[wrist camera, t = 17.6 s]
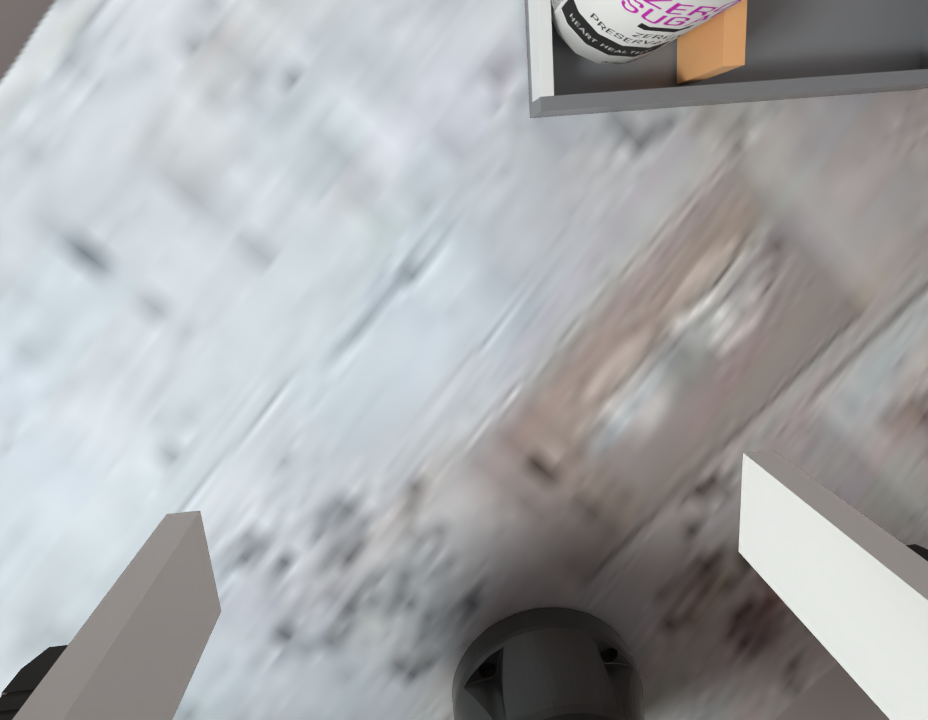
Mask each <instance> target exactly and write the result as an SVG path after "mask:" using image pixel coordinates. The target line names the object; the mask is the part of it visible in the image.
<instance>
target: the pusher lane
mask: <svg viewBox="0 0 928 720" xmlns="http://www.w3.org/2000/svg"><path fill="white" fill-rule="evenodd" d="M525 14H526V36H527V58H528V80H529V103H530V118H536V117H550V116H563V115H577V114H590V113H604V112H617V111H631V110H644V109H658V108H672V107H685V106H699V105H712V104H726V103H739V102H753V101H766V100H780V99H793V98H807V97H820V96H834V95H848V94H861V93H875V92H888V91H902V90H915V89H923V88H928V0H747V20H746V45H745V65H743V66H740V67H738V68H735V69H732V70H730V71H727V72H724V73H721V74H719V75H716V76H713V77H711V78H708V79H705V80H703V81H700V82H697V83H690V84H677V39H675V40H673V41H671V42H670V43H668V44H666V45H665V46H663V47H661V48H659V49H658V50H656V51H654V52H652V53H651V54H649V55H647V56H645V57H644V58H641V59H638V60H635V61H632V62H629V63H625V64H622V65H611V64H597V63H595V62H593V61H591V60H589V59H587V58H585V57H583V56H581V55H578V54H576V53H575V52H574V51H573V50H572V49H571V48H570V47H569V46H568V44H567V43H566V42H565V41H564V40H563V39H562V38H561V37H560V36H559V35H558V33H557V30H556V28H555V26H554V23H553V21H552V18H551V0H525Z"/></svg>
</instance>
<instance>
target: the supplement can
mask: <svg viewBox="0 0 928 720" xmlns="http://www.w3.org/2000/svg"><path fill="white" fill-rule="evenodd" d="M741 1H742V0H551V18H552V21H553V23H554V26H555V28H556V30H557V33H558V35H559V36H560V37H561V38H562V39H563V40H564V41H565V42H566V43H567V44H568V46H569V47H570V48H571V49H572V50H573V51H574V52H575V53H576V54H578V55H581V56H583V57H585V58H587V59H589V60H591V61H593V62H595V63H597V64H611V65H622V64H625V63H629V62H632V61H635V60H638V59H641V58H644V57H645V56H647V55H649V54H651V53H652V52H654V51H656V50H658V49H659V48H661V47H663V46H665V45H666V44H668V43H670V42H671V41H673V40H675V39H677V38H678V37H680V36H682V35H684V34H685V33H687V32H689V31H691V30H692V29H694V28H696V27H697V26H699V25H701V24H703V23H704V22H706V21H708V20H710V19H711V18H713V17H715V16H716V15H718V14H720V13H722V12H723V11H725V10H727V9H729V8H730V7H732V6H734V5H736V4H737V3H739V2H741Z"/></svg>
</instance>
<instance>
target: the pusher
mask: <svg viewBox="0 0 928 720" xmlns="http://www.w3.org/2000/svg"><path fill="white" fill-rule="evenodd" d="M746 20H747V0H742V1H741V2H739V3H737V4H736V5H734V6H732V7H730V8H729V9H727V10H725V11H723V12H722V13H720V14H718V15H716V16H715V17H713V18H711V19H710V20H708V21H706V22H704V23H703V24H701V25H699V26H697V27H696V28H694V29H692V30H691V31H689V32H687V33H685V34H684V35H682V36H680V37H678V38H677V84H690V83H697V82H700V81H703V80H705V79H708V78H711V77H713V76H716V75H719V74H721V73H724V72H727V71H730V70H732V69H735V68H738V67H740V66H743V65H745V45H746Z"/></svg>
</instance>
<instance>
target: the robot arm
mask: <svg viewBox="0 0 928 720" xmlns="http://www.w3.org/2000/svg"><path fill="white" fill-rule="evenodd" d="M739 552H740V554H741V555H742V556H743V557H744V558H745V559H746V560H747V561H748V562H749V564H750V565H751V566H752V567H753V568H754V569H755V570H756V571H757V572H758V574H759V575H760V576H761V577H762V578H763V579H764V580H765V581H766V582H767V584H768V585H769V586H770V587H771V588H772V589H773V590H774V591H775V592H776V594H777V595H778V596H779V597H780V598H781V599H782V600H783V601H784V602H785V604H786V605H787V606H788V607H789V608H790V609H791V610H792V611H793V612H794V614H795V615H796V616H797V617H798V618H799V619H800V620H801V621H802V622H803V624H804V625H805V626H806V627H807V628H808V629H809V630H810V631H811V632H812V634H813V635H814V636H815V637H816V638H817V639H818V640H819V641H820V642H821V644H822V645H823V646H824V647H825V648H826V649H827V650H828V651H829V652H830V654H831V655H832V656H833V657H834V658H835V659H836V660H837V661H838V662H839V664H840V665H841V666H842V667H843V668H844V669H845V670H846V671H847V672H848V673H849V675H850V676H851V677H852V678H853V679H854V680H855V681H856V682H857V684H858V685H859V686H860V687H861V688H862V689H863V690H864V691H865V692H866V694H867V695H868V696H869V697H870V698H871V699H872V700H873V701H874V702H875V704H877V706H878V707H879V708H880V709H881V710H882V711H883V712H884V713H885V715H886V716H887V717H888V718H889V719H890V720H928V550H927V549H925V548H923V547H921V546H918V545H916V544H914V545H904V544H903V543H901V542H900V541H899V540H897V539H896V538H895V537H893V536H892V535H890V534H889V533H888V532H886V531H885V530H884V529H882V528H881V527H879V526H878V525H877V524H875V523H874V522H872V521H871V520H870V519H868V518H867V517H866V516H864V515H863V514H861V513H860V512H859V511H857V510H856V509H854V508H853V507H852V506H850V505H849V504H848V503H846V502H845V501H843V500H842V499H841V498H839V497H838V496H837V495H835V494H834V493H832V492H831V491H830V490H828V489H827V488H825V487H824V486H823V485H821V484H820V483H819V482H817V481H816V480H814V479H813V478H812V477H810V476H809V475H808V474H806V473H805V472H803V471H802V470H801V469H799V468H798V467H796V466H795V465H794V464H792V463H791V462H790V461H788V460H787V459H785V458H784V457H783V456H781V455H780V454H778V453H777V452H776V451H774V450H766V451H757V452H748V453H743V469H742V490H741V512H740V534H739ZM220 613H221V608H220V603H219V598H218V593H217V589H216V584H215V579H214V574H213V570H212V565H211V560H210V555H209V551H208V546H207V541H206V536H205V532H204V527H203V522H202V517H201V513H200V511H193V512H183V513H174V514H167V515H166V516H165V517H164V519H163V520H162V521H161V523H160V524H159V525H158V526H157V528H156V529H155V530H154V532H153V533H152V534H151V536H150V537H149V538H148V540H147V541H146V542H145V544H144V545H143V546H142V548H141V549H140V550H139V552H138V553H137V554H136V556H135V557H134V558H133V560H132V561H131V562H130V564H129V565H128V566H127V568H126V569H125V570H124V572H123V573H122V574H121V576H120V577H119V578H118V580H117V581H116V582H115V584H114V585H113V586H112V588H111V589H110V590H109V592H108V593H107V594H106V596H105V597H104V598H103V600H102V601H101V602H100V604H99V605H98V606H97V608H96V609H95V610H94V612H93V613H92V614H91V616H90V617H89V618H88V620H87V621H86V622H85V624H84V625H83V626H82V628H81V629H80V630H79V632H78V633H77V634H76V636H75V637H74V638H73V640H72V641H71V642H70V643H69V645H64V646H56V647H49V648H48V649H46V650H45V651H44V652H43V653H41V654H40V655H39V656H37V657H36V658H35V659H33V660H32V661H31V662H30V663H28V664H27V665H26V666H24V667H23V668H22V669H21V670H20V671H19V672H18V674H17V675H16V676H15V677H14V678H13V680H12V681H11V682H10V683H9V685H8V686H7V687H6V688H5V690H4V691H3V692H2V696H1V698H0V720H172V719H173V717H174V715H175V713H176V710H177V708H178V706H179V704H180V702H181V699H182V697H183V695H184V693H185V690H186V688H187V686H188V684H189V682H190V679H191V677H192V675H193V673H194V671H195V668H196V666H197V664H198V662H199V659H200V657H201V655H202V653H203V651H204V648H205V646H206V644H207V642H208V639H209V637H210V635H211V633H212V631H213V628H214V626H215V624H216V622H217V619H218V617H219V615H220ZM452 699H453V711H454V720H644V702H643V688H642V683H641V679H640V675H639V672H638V669H637V667H636V665H635V663H634V661H633V658H632V656H631V654H630V652H629V650H628V648H627V646H626V644H625V643H624V641H623V640H622V639H621V637H620V636H619V635H618V634H617V633H616V632H615V631H614V630H613V629H612V628H611V627H610V626H608V625H607V624H606V623H604V622H602V621H601V620H599V619H597V618H595V617H593V616H591V615H588V614H586V613H583V612H579V611H575V610H570V609H562V608H545V609H536V610H531V611H526V612H523V613H519V614H516V615H514V616H511V617H509V618H506V619H504V620H502V621H500V622H499V623H497V624H495V625H493V626H492V627H491V628H489V629H488V630H486V631H485V632H484V633H483V634H481V635H480V636H479V637H478V638H477V639H476V640H475V641H474V642H473V643H472V644H471V646H470V647H469V648H468V649H467V651H466V652H465V654H464V655H463V657H462V659H461V661H460V663H459V665H458V667H457V670H456V673H455V676H454V680H453V687H452Z"/></svg>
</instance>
